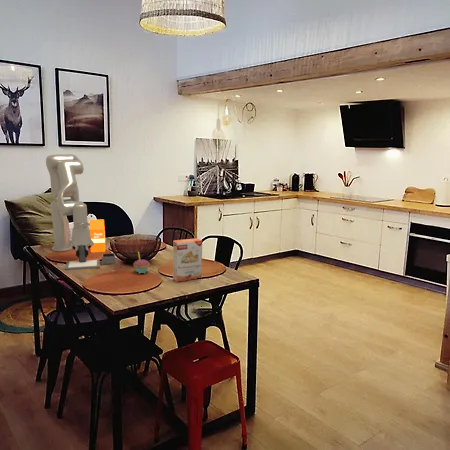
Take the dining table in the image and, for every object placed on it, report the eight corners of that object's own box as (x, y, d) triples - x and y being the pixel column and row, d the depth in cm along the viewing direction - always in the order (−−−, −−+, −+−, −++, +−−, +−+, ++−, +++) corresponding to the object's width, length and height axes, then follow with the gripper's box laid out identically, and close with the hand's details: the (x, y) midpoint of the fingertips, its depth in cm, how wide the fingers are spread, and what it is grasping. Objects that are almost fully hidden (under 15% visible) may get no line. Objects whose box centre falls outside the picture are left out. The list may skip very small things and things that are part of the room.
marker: (79, 260, 250) (77, 240, 248) (86, 260, 252) (85, 239, 249) (78, 262, 247) (77, 242, 244) (86, 262, 248) (85, 241, 245)
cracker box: (177, 282, 220) (176, 242, 216) (172, 279, 225) (172, 240, 221) (202, 279, 227) (202, 240, 222) (197, 275, 232) (197, 237, 227)
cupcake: (130, 273, 233) (130, 252, 230) (139, 269, 241) (138, 248, 238) (144, 275, 230) (143, 254, 227) (152, 271, 238) (152, 250, 235)
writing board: (67, 262, 250) (67, 260, 250) (99, 260, 255) (99, 259, 255) (65, 270, 237) (65, 268, 237) (99, 267, 242) (99, 266, 241)
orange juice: (91, 249, 279) (89, 218, 275) (105, 248, 281) (104, 218, 277) (90, 252, 271) (89, 221, 267) (105, 251, 274) (104, 220, 269)
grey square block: (102, 261, 254) (101, 253, 253) (114, 260, 256) (114, 253, 255) (102, 264, 247) (101, 257, 246) (115, 264, 249) (115, 256, 248)
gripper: (96, 223, 250) (97, 254, 254) (65, 224, 246) (67, 256, 250) (96, 226, 243) (97, 257, 247) (64, 227, 239) (66, 259, 243)
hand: (82, 256), depth 248 cm, fingers closed on marker, 3 cm apart
